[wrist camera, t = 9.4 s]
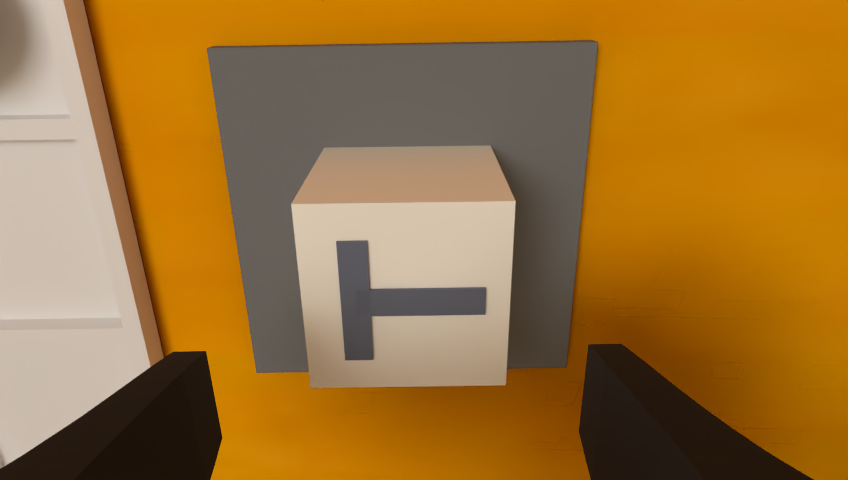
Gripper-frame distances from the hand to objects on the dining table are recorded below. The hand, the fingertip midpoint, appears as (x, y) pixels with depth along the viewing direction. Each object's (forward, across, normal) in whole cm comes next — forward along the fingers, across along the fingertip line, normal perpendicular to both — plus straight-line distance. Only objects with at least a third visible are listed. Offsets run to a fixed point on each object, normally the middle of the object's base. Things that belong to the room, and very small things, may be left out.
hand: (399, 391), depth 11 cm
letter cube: (+8, 0, 0) cm, 8 cm away
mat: (+9, 0, 0) cm, 9 cm away
